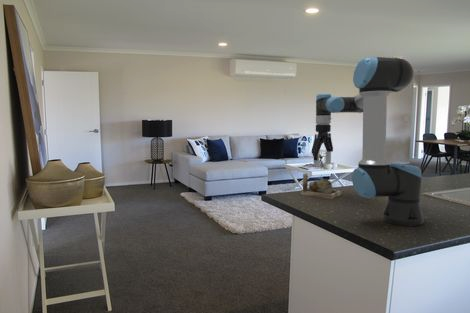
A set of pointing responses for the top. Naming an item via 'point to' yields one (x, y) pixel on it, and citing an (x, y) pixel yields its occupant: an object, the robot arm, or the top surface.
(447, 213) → the top surface
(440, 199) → the top surface
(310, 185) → the rock
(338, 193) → the wooden tray
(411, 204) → the robot arm
